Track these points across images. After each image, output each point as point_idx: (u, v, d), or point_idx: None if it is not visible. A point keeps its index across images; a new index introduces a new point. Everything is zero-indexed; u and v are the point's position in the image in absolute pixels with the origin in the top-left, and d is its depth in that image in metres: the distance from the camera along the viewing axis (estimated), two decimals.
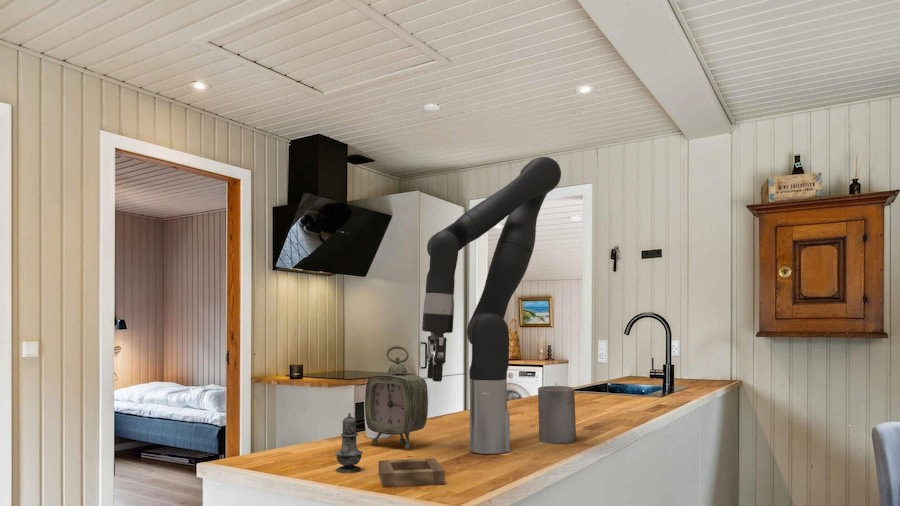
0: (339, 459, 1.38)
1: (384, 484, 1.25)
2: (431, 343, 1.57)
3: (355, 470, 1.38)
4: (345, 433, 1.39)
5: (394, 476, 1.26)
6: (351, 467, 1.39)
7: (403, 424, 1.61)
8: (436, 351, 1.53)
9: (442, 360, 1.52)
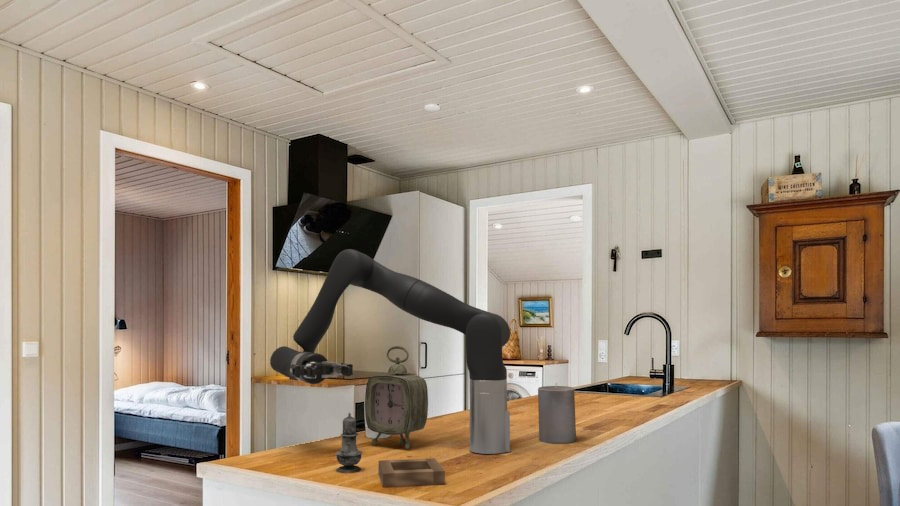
0: (339, 459, 1.38)
1: (384, 484, 1.25)
2: None
3: (355, 470, 1.38)
4: (345, 433, 1.39)
5: (394, 476, 1.26)
6: (351, 467, 1.39)
7: (403, 424, 1.61)
8: (293, 375, 1.54)
9: (295, 369, 1.52)
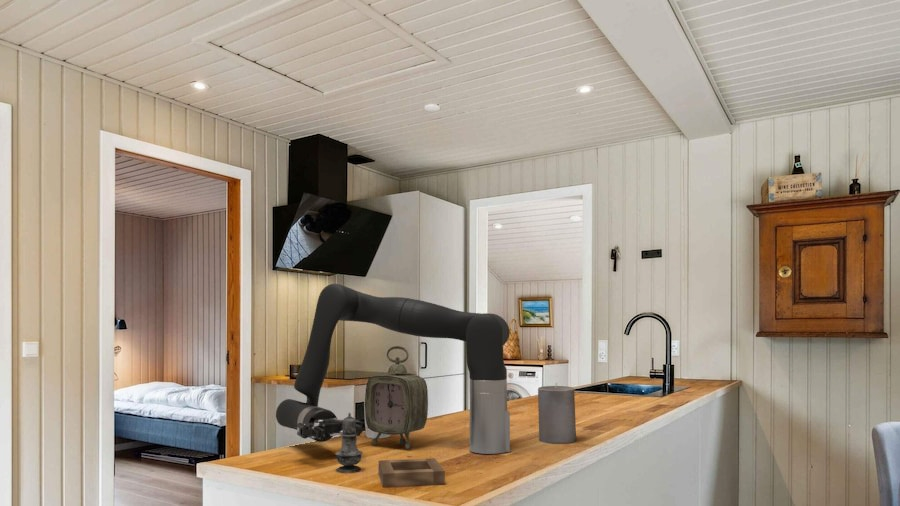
0: (339, 459, 1.38)
1: (384, 484, 1.25)
2: None
3: (355, 470, 1.38)
4: (345, 433, 1.39)
5: (394, 476, 1.26)
6: (351, 467, 1.39)
7: (403, 424, 1.61)
8: (300, 435, 1.47)
9: (302, 430, 1.46)
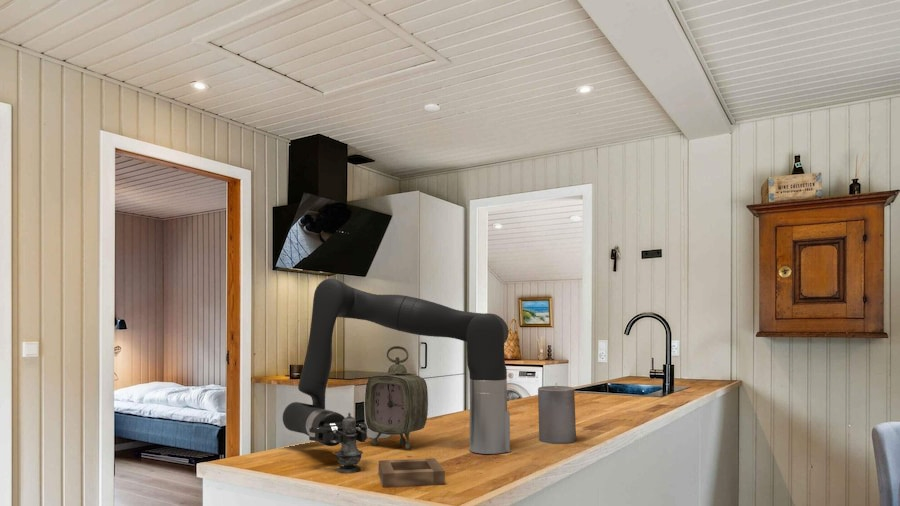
0: (339, 459, 1.38)
1: (384, 484, 1.25)
2: (329, 439, 1.45)
3: (355, 470, 1.38)
4: None
5: (394, 476, 1.26)
6: (351, 467, 1.39)
7: (403, 424, 1.61)
8: (318, 440, 1.41)
9: (324, 434, 1.40)
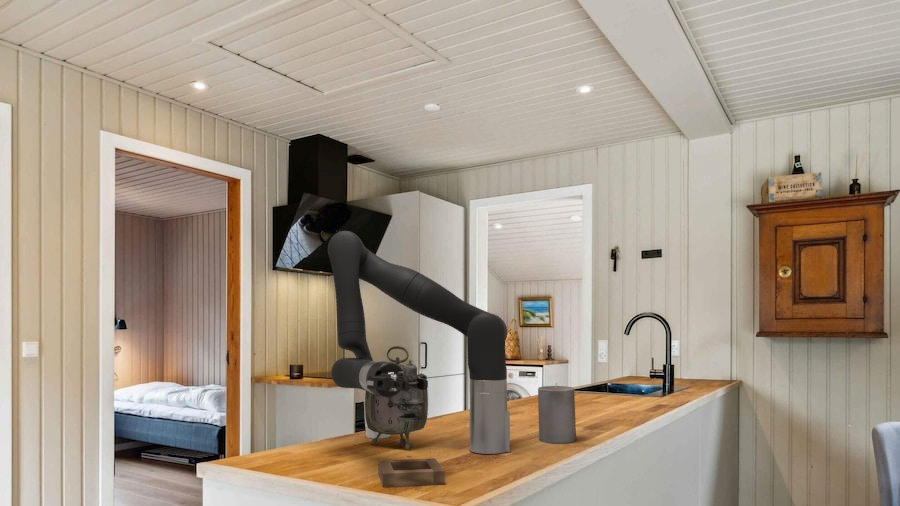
0: (400, 407, 1.32)
1: (384, 484, 1.25)
2: None
3: (417, 419, 1.32)
4: None
5: (394, 476, 1.26)
6: (412, 416, 1.33)
7: (403, 424, 1.61)
8: (377, 388, 1.35)
9: (384, 381, 1.33)
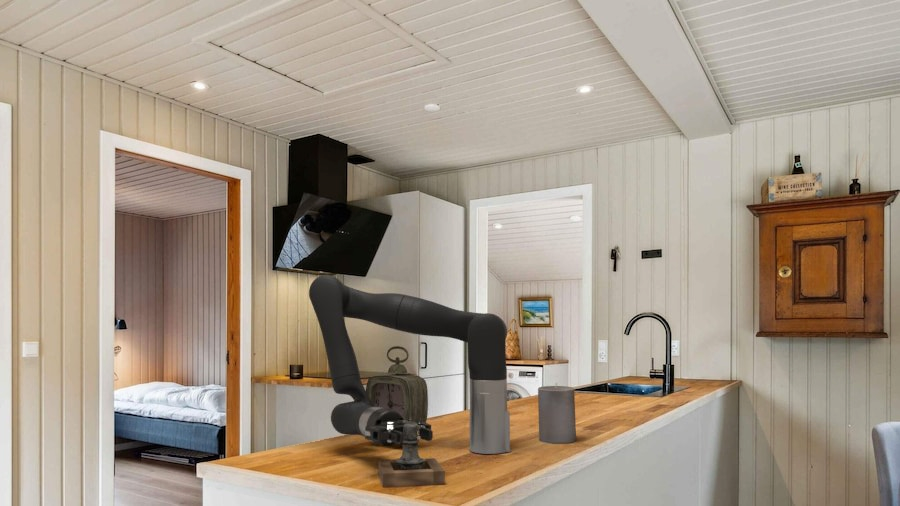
0: (400, 467, 1.31)
1: (384, 484, 1.25)
2: None
3: None
4: (406, 439, 1.32)
5: (394, 476, 1.26)
6: None
7: None
8: (373, 439, 1.34)
9: (378, 433, 1.32)
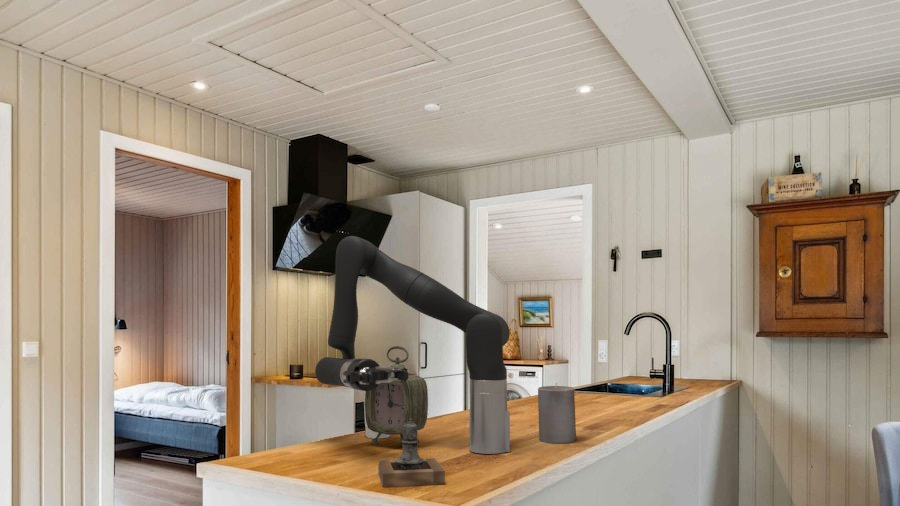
0: (400, 467, 1.31)
1: (384, 484, 1.25)
2: None
3: None
4: (406, 439, 1.32)
5: (394, 476, 1.26)
6: None
7: (403, 424, 1.61)
8: (347, 382, 1.48)
9: (350, 376, 1.46)
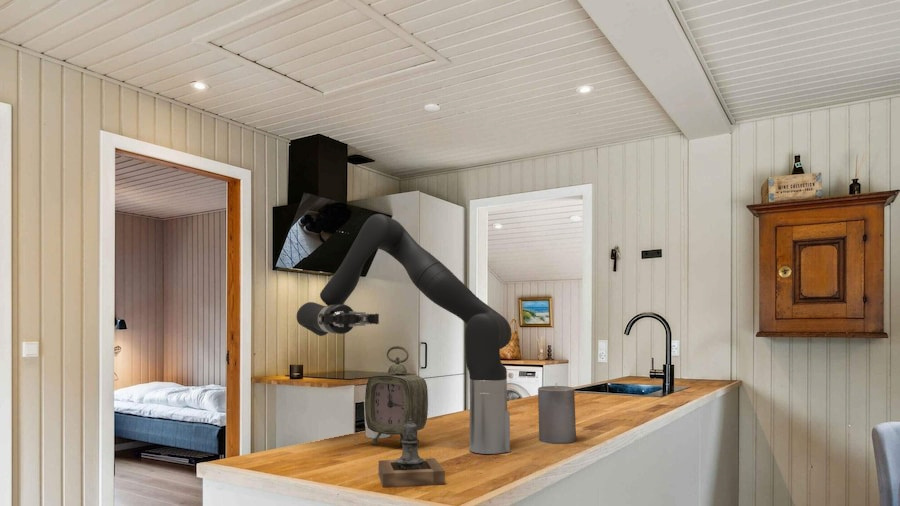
0: (400, 467, 1.31)
1: (384, 484, 1.25)
2: None
3: None
4: (406, 439, 1.32)
5: (394, 476, 1.26)
6: None
7: (403, 424, 1.61)
8: (322, 323, 1.60)
9: (324, 316, 1.58)
